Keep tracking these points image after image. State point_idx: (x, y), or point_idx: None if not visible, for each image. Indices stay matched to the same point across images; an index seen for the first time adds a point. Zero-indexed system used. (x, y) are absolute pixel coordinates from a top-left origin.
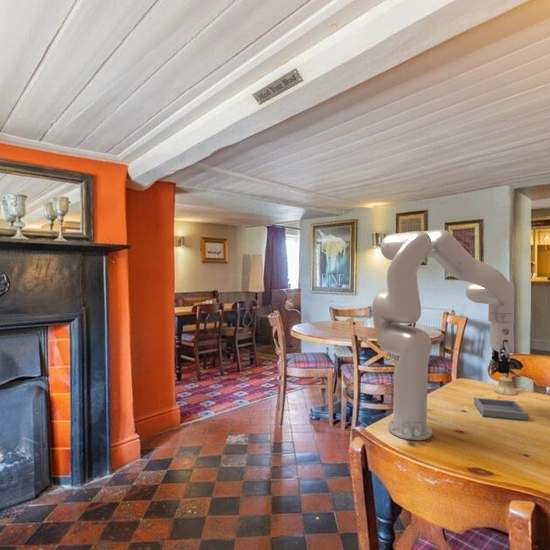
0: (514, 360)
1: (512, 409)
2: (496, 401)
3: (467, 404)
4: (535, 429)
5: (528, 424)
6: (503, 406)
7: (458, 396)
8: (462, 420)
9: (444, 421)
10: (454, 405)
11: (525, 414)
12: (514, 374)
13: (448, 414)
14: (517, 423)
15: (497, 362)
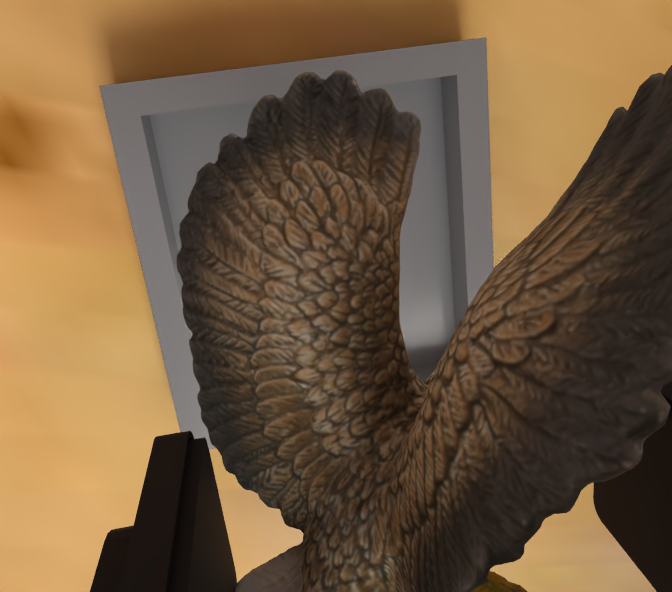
0: (634, 335)
1: (238, 126)
2: (174, 267)
3: (221, 464)
4: (632, 21)
5: (536, 53)
6: (184, 197)
7: (27, 527)
8: (581, 490)
9: (624, 577)
10: (291, 543)
11: (482, 60)
12: (404, 202)
13: (497, 566)
14: (538, 140)
15: (216, 587)
